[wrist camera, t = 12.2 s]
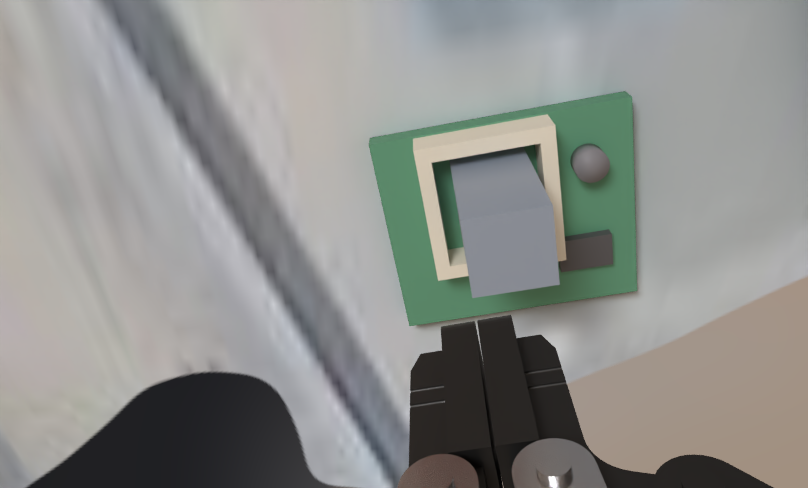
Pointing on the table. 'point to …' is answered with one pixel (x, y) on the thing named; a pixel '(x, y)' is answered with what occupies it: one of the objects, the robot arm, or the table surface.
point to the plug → (504, 223)
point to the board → (562, 180)
